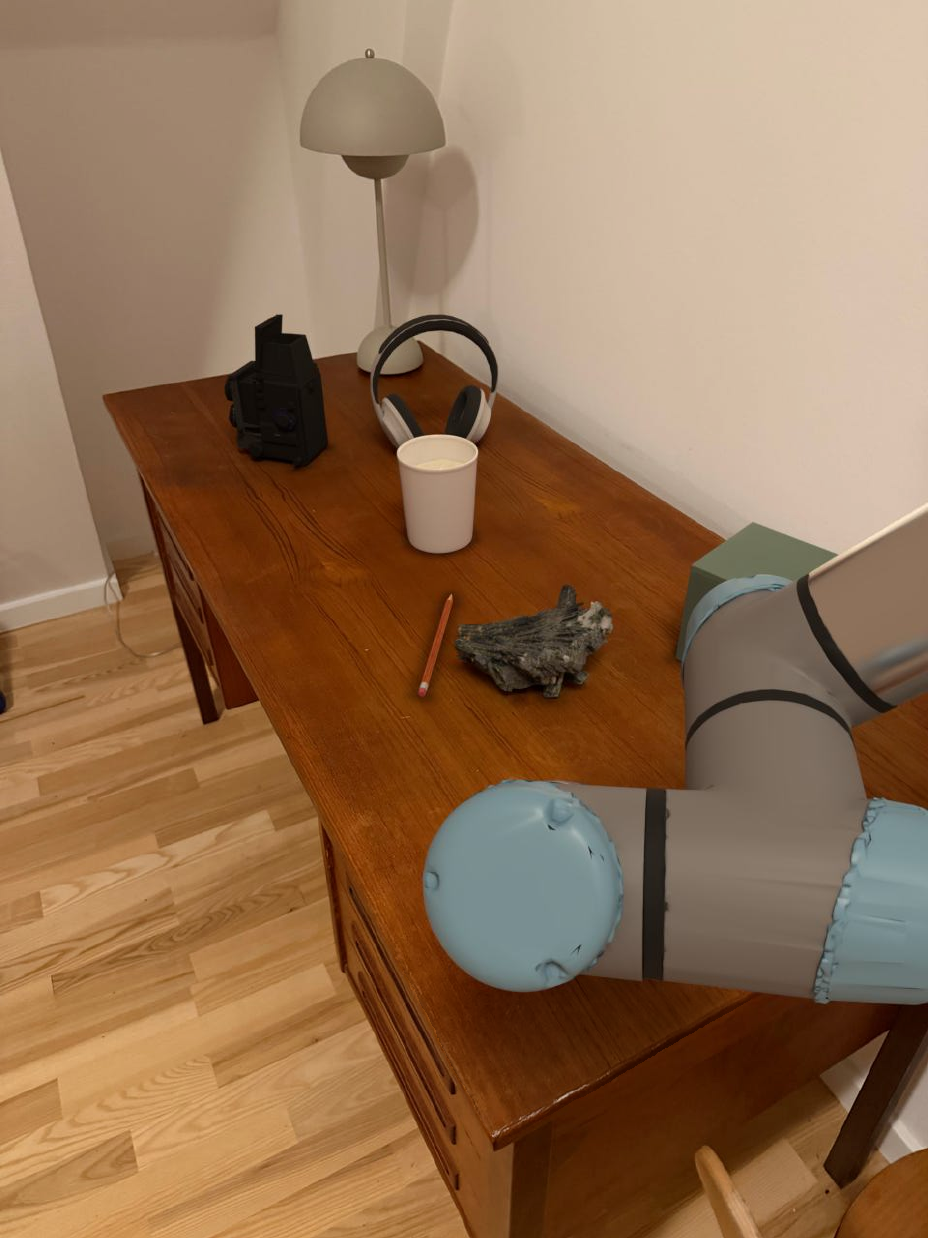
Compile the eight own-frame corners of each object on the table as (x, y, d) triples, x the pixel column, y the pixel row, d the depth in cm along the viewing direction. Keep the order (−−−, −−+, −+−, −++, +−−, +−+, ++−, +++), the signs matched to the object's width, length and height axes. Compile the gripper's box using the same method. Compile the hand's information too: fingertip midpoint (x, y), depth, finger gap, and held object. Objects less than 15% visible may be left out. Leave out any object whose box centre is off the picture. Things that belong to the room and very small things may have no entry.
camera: (256, 433, 137) (235, 304, 125) (334, 444, 134) (320, 312, 122) (224, 460, 130) (198, 325, 118) (305, 471, 126) (287, 334, 114)
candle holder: (416, 564, 105) (412, 475, 98) (391, 527, 113) (386, 442, 106) (490, 547, 108) (491, 460, 101) (461, 512, 116) (460, 429, 109)
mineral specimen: (553, 569, 94) (562, 532, 85) (625, 661, 91) (643, 634, 82) (440, 644, 92) (437, 615, 82) (510, 741, 89) (515, 723, 79)
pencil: (417, 696, 86) (417, 691, 85) (448, 596, 100) (448, 591, 100) (425, 697, 86) (425, 692, 85) (455, 596, 100) (455, 591, 99)
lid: (887, 580, 82) (889, 573, 82) (831, 633, 75) (833, 625, 75) (751, 528, 90) (752, 521, 90) (690, 571, 84) (691, 564, 83)
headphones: (380, 467, 127) (371, 331, 115) (370, 444, 134) (360, 313, 122) (504, 451, 131) (507, 317, 119) (488, 429, 138) (489, 301, 126)
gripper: (383, 881, 47) (473, 847, 70) (725, 973, 43) (704, 905, 65) (412, 746, 48) (492, 755, 71) (751, 822, 44) (721, 806, 66)
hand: (593, 827), depth 68 cm, fingers closed on pill bottle, 5 cm apart
